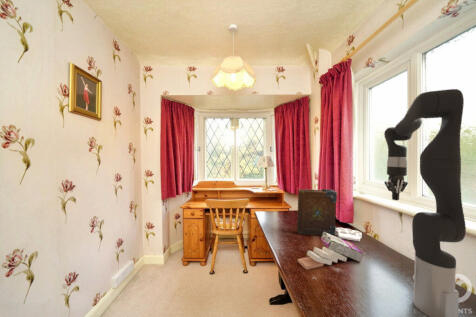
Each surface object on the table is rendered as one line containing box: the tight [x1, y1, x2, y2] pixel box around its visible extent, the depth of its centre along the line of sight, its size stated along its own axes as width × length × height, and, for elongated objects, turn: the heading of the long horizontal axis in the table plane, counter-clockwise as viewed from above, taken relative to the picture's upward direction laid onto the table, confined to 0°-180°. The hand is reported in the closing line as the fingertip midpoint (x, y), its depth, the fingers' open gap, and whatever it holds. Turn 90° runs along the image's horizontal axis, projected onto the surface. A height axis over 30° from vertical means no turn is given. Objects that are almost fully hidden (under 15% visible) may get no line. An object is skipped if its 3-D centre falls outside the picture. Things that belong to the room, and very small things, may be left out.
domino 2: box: [306, 250, 333, 266], centre depth 85 cm, size 6×2×10 cm
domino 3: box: [321, 246, 348, 263], centre depth 88 cm, size 6×2×10 cm
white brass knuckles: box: [335, 227, 363, 242], centre depth 118 cm, size 3×18×15 cm
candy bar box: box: [320, 232, 364, 263], centre depth 93 cm, size 11×5×16 cm
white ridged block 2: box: [312, 246, 339, 264], centre depth 87 cm, size 6×2×10 cm
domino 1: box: [297, 256, 325, 270], centre depth 84 cm, size 6×2×10 cm
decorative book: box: [296, 188, 338, 237], centre depth 119 cm, size 23×7×30 cm, turn 86°
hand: (395, 199), depth 89 cm, fingers closed
